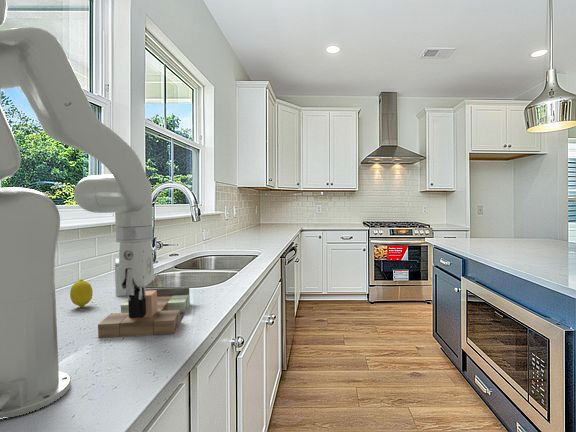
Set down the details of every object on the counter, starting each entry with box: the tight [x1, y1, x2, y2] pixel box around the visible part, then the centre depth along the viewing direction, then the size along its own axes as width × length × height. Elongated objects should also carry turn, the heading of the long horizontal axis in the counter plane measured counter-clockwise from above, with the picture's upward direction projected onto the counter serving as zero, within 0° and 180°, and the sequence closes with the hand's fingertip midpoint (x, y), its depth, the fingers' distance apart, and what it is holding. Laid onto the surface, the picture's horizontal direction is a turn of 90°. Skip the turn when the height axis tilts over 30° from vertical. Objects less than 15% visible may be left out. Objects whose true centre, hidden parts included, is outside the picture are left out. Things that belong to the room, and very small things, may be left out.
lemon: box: [69, 279, 94, 308], centre depth 103 cm, size 6×6×8 cm
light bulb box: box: [114, 257, 126, 297], centre depth 121 cm, size 11×7×11 cm, turn 25°
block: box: [143, 290, 157, 317], centre depth 86 cm, size 5×5×5 cm
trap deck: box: [97, 286, 191, 339], centre depth 92 cm, size 24×16×5 cm, turn 7°
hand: (137, 316), depth 81 cm, fingers closed
